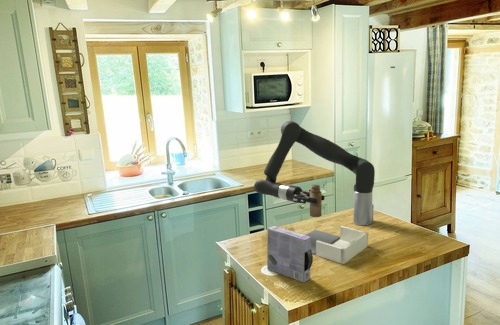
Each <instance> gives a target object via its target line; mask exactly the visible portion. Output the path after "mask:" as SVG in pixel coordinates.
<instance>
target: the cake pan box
mask: <svg viewBox="0 0 500 325" xmlns="http://www.w3.org/2000/svg"><path fill="white" fill-rule="evenodd" d="M266 242H267V248H266V249H267V254H266V255H267V268H266V269H267V270H270V271H273V272H276V273H277V274H280V275H282V276H284V277H287V278H291V279H294V280H296V281H298V282H300V283H303V284H304V283H306V282H307V281H309V280H310V279H311V268H312V266H313V262H314V261H313V260H314V257H313V256H314V255H313V254H312V251H311V237H309V236H306V234H302V233H298V232H296V231H292V230H290V229H287V228H282V227H279V226H276V225H273V226H270V227H267V241H266Z"/></svg>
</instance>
